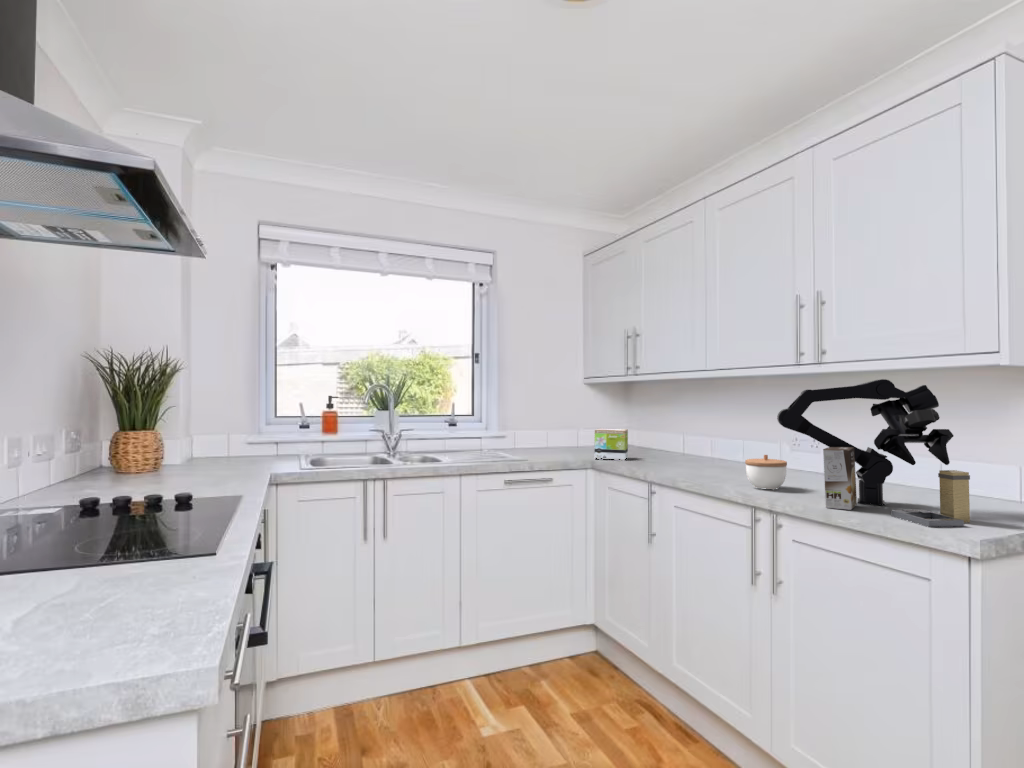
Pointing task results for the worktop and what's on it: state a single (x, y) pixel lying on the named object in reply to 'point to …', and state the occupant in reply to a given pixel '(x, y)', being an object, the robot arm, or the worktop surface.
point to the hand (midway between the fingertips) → (931, 464)
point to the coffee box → (840, 477)
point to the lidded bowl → (766, 472)
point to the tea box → (611, 443)
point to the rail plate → (919, 517)
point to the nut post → (954, 494)
